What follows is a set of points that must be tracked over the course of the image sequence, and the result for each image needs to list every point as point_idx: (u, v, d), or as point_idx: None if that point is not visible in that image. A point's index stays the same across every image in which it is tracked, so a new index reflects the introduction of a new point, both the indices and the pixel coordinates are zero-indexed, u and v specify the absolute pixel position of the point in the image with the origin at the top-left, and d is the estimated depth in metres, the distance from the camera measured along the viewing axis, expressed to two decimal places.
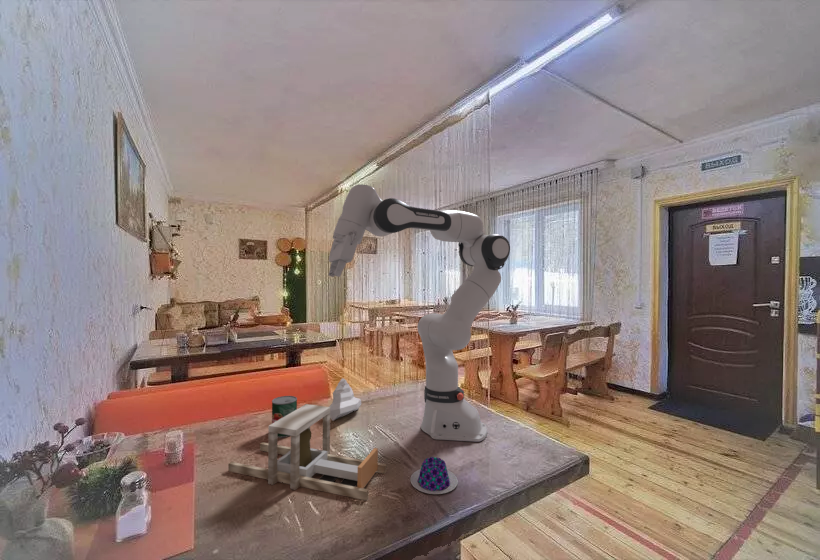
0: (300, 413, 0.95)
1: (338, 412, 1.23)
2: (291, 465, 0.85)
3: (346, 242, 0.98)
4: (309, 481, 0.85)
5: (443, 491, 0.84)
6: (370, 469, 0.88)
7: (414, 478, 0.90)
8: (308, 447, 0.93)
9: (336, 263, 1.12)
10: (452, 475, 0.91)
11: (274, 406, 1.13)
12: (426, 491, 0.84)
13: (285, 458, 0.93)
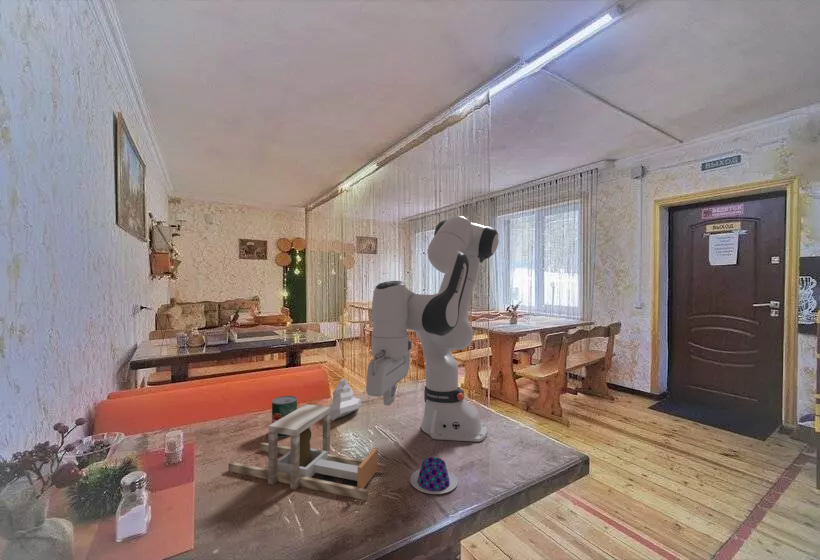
0: (300, 413, 0.95)
1: (338, 412, 1.23)
2: (291, 465, 0.85)
3: (367, 374, 0.77)
4: (309, 481, 0.85)
5: (442, 491, 0.84)
6: (370, 469, 0.88)
7: (414, 478, 0.90)
8: (308, 447, 0.93)
9: None
10: (452, 475, 0.91)
11: (274, 406, 1.13)
12: (425, 491, 0.84)
13: (285, 458, 0.93)
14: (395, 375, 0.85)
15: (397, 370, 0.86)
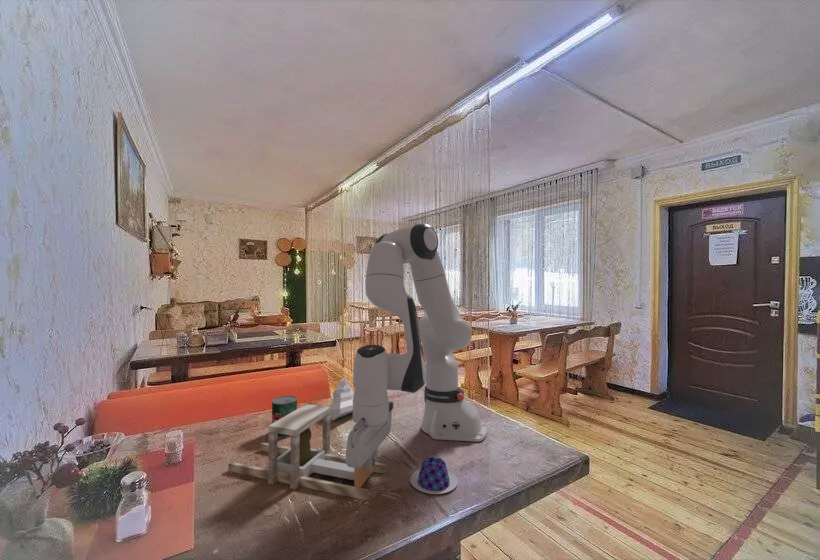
0: (300, 413, 0.95)
1: (338, 412, 1.23)
2: (291, 465, 0.85)
3: (347, 445, 0.79)
4: (309, 481, 0.85)
5: (440, 492, 0.84)
6: None
7: (415, 477, 0.90)
8: (308, 447, 0.93)
9: None
10: (453, 477, 0.90)
11: (274, 406, 1.13)
12: (423, 490, 0.84)
13: (282, 458, 0.94)
14: (375, 441, 0.86)
15: (378, 434, 0.88)
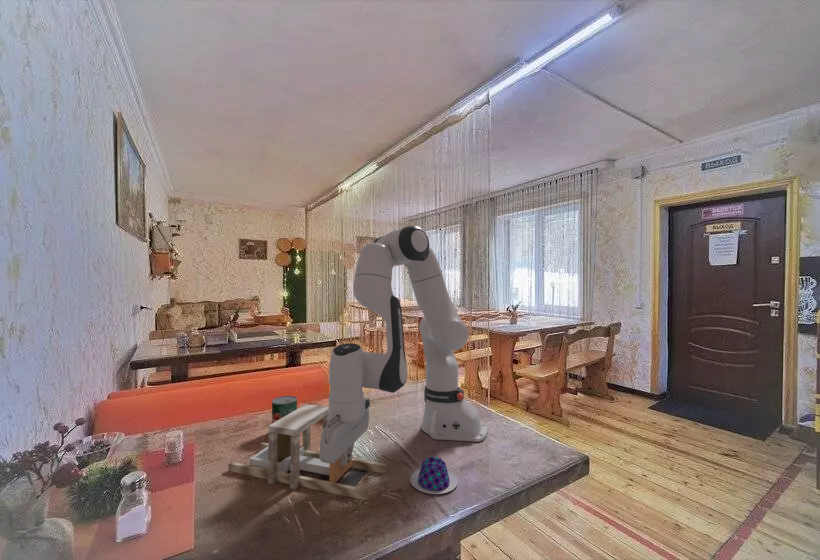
0: (300, 413, 0.95)
1: None
2: (291, 465, 0.85)
3: (321, 441, 0.80)
4: (309, 481, 0.85)
5: (439, 492, 0.84)
6: None
7: (415, 476, 0.90)
8: (290, 444, 0.94)
9: None
10: (453, 477, 0.90)
11: (274, 406, 1.13)
12: (422, 490, 0.84)
13: (262, 454, 0.96)
14: (351, 437, 0.88)
15: (354, 430, 0.90)
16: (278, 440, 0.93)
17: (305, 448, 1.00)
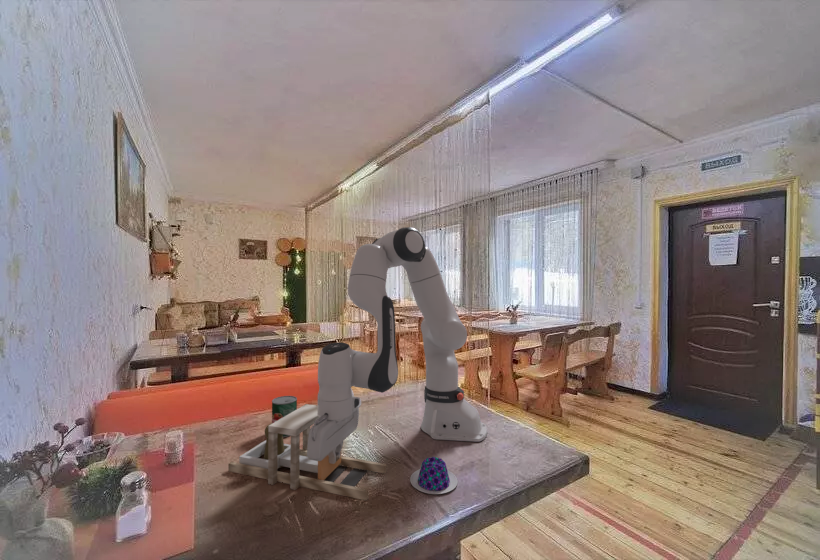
0: (300, 413, 0.95)
1: None
2: (291, 465, 0.85)
3: (308, 439, 0.82)
4: (309, 481, 0.85)
5: (439, 492, 0.84)
6: None
7: (415, 476, 0.91)
8: (280, 442, 0.95)
9: None
10: (454, 477, 0.90)
11: (274, 406, 1.13)
12: (422, 490, 0.85)
13: (252, 452, 0.97)
14: (339, 435, 0.89)
15: (343, 428, 0.91)
16: None
17: (305, 448, 1.00)
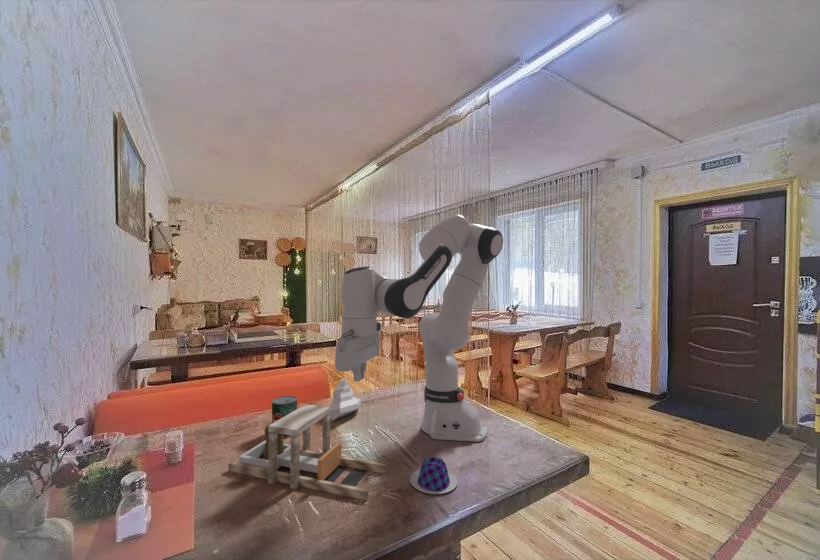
0: (300, 413, 0.95)
1: (338, 412, 1.23)
2: (291, 465, 0.85)
3: (336, 351, 0.84)
4: (309, 481, 0.85)
5: (437, 492, 0.84)
6: (332, 462, 0.91)
7: (416, 475, 0.91)
8: (280, 442, 0.95)
9: None
10: (454, 479, 0.89)
11: (274, 406, 1.13)
12: (420, 489, 0.85)
13: (252, 452, 0.97)
14: (364, 353, 0.91)
15: (366, 349, 0.93)
16: None
17: (305, 448, 1.00)
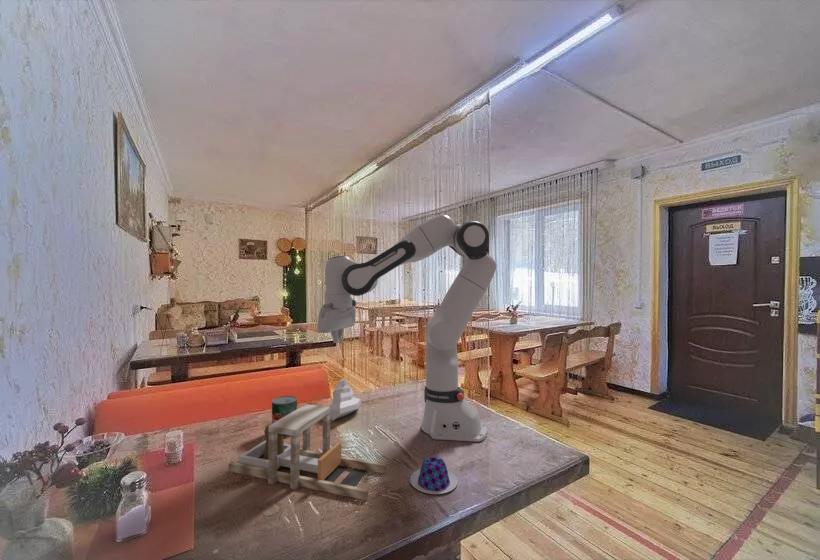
0: (300, 413, 0.95)
1: (338, 412, 1.23)
2: (291, 465, 0.85)
3: (318, 317, 1.13)
4: (309, 481, 0.85)
5: (435, 492, 0.84)
6: (332, 462, 0.91)
7: (417, 474, 0.91)
8: (280, 442, 0.95)
9: None
10: (455, 480, 0.89)
11: (274, 406, 1.13)
12: (419, 488, 0.85)
13: (252, 452, 0.97)
14: (341, 322, 1.20)
15: (343, 319, 1.22)
16: None
17: (305, 448, 1.00)
